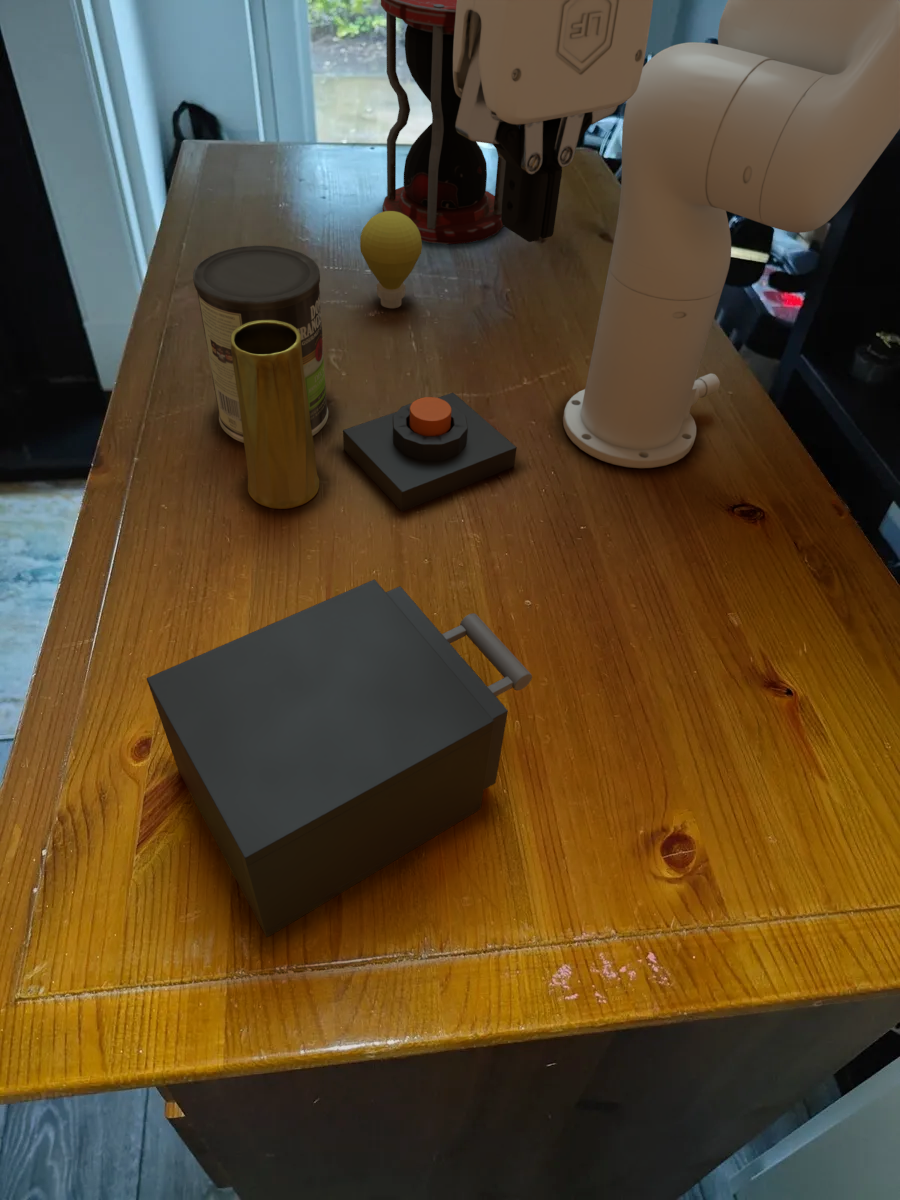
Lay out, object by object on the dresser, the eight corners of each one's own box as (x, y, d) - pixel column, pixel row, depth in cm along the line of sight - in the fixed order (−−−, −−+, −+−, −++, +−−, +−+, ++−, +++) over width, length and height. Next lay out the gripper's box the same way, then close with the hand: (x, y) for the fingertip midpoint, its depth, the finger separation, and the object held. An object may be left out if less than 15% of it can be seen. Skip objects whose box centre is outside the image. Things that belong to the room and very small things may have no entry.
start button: (435, 409, 76) (436, 392, 74) (458, 429, 74) (459, 412, 72) (401, 421, 74) (401, 404, 73) (424, 442, 72) (424, 425, 71)
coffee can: (342, 394, 83) (335, 253, 72) (309, 456, 76) (296, 310, 66) (242, 377, 84) (221, 236, 74) (200, 437, 77) (171, 291, 67)
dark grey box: (376, 673, 59) (374, 578, 52) (480, 809, 53) (494, 720, 46) (178, 770, 53) (146, 677, 46) (267, 938, 47) (244, 858, 40)
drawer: (450, 638, 61) (456, 560, 55) (549, 751, 55) (567, 678, 49) (218, 751, 53) (198, 675, 48) (303, 897, 47) (290, 830, 42)
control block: (452, 411, 82) (454, 375, 79) (514, 467, 76) (519, 430, 73) (343, 450, 77) (341, 412, 74) (402, 512, 71) (402, 474, 68)
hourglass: (367, 235, 107) (362, -2, 89) (400, 187, 118) (401, -32, 100) (491, 253, 105) (512, 16, 87) (513, 203, 116) (536, -17, 98)
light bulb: (351, 309, 94) (347, 218, 87) (377, 284, 98) (375, 195, 91) (406, 323, 93) (407, 232, 85) (429, 297, 97) (432, 208, 90)
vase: (261, 518, 70) (238, 366, 59) (238, 475, 73) (212, 325, 63) (330, 498, 72) (319, 348, 62) (304, 458, 76) (290, 309, 65)
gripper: (489, -159, 33) (461, 284, 47) (746, -162, 40) (656, 230, 53) (390, -182, 37) (390, 232, 51) (637, -181, 44) (579, 187, 57)
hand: (526, 230), depth 52 cm, fingers closed
